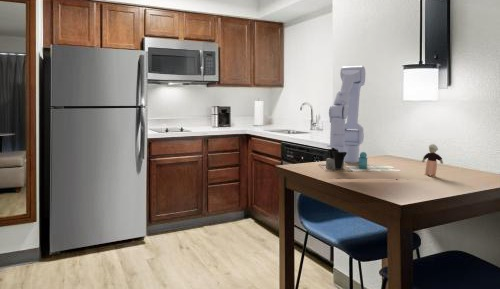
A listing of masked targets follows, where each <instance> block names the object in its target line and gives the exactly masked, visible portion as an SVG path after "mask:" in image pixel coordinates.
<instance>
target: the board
mask: <svg viewBox="0 0 500 289" xmlns="http://www.w3.org/2000/svg"><path fill="white" fill-rule="evenodd" d="M318 166H319V167H320V168H321V169H323V170H324V171H325V172H341V169H331V170H327V168H326V167H325V168H324V166H323V165H322V164H318ZM345 167H346V168H347V169H349V171H351V172H356V171H357V172H371V171H372V172H401V170H400V169H399V168H396V167H394V166H392V165H367V169H359V168H358V165H345Z"/></svg>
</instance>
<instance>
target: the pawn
mask: <svg viewBox="0 0 500 289" xmlns="http://www.w3.org/2000/svg"><path fill="white" fill-rule="evenodd" d="M367 154H368V153H366V152H365V151H361V152H359V162H358V165H357V166H358V168H359V169H367V166H368V157H367V156H368V155H367Z"/></svg>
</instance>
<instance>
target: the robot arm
mask: <svg viewBox="0 0 500 289" xmlns="http://www.w3.org/2000/svg"><path fill="white" fill-rule="evenodd" d="M339 74H340V79H341V83H342V84H341V88H340V90H339V91H338V92H336V96H335V99H334V102H333V103H332V105H331V106H330V107H329V110H328V117H329V123H330V136H329V144H327V145H326V147H328V148H327V152H328V154H329V158H334V160H335V168H336V169H335V170H341V167H342V163H343V160H344V163H359V157H360V145H362V143H364V139H365V138H364V137H365V135H364V134H365V133H364V127H363V126H362V125H361V124H360V123H358V122H359V108H360V95H361V94H360V92H361V88H362V87H363V86H364V85H365V83H366V68H365V66H364V65H359V66H358V65H354V66H352V65H351V66H344V65H343V66H342V67H341V68H340V73H339Z"/></svg>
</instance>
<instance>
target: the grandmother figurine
mask: <svg viewBox="0 0 500 289" xmlns="http://www.w3.org/2000/svg"><path fill="white" fill-rule="evenodd" d="M428 151H429V152H428V153H426V154H425V155H424V156H423V157H422V160H421V163H425V162H426V165H425V170H424V171H425V173H424V174H423V175H424V176H427V177H431V178H436V177H437V176H436V175H437V169H438V168H437V167H438V161H439V163H440V164H442V165H443V164H444V161H443V158H442V157H441V156H440V154H438V153H436V152H437V151H439V148H438V145H436V144H435V143H430V144H429V145H428Z"/></svg>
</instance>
